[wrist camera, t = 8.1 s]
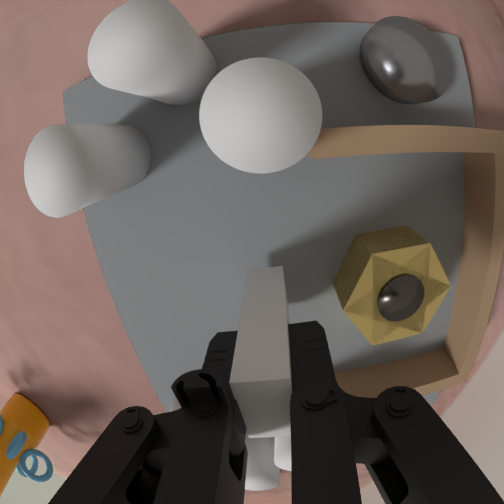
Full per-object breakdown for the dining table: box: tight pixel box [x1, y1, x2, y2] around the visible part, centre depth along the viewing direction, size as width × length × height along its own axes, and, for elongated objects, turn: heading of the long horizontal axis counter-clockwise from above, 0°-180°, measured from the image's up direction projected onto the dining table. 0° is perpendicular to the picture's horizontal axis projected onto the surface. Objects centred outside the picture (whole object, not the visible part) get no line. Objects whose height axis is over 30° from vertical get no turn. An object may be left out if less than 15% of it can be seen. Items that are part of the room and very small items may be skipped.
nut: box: [333, 225, 451, 345], centre depth 12 cm, size 4×5×2 cm
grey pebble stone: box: [359, 16, 450, 105], centre depth 9 cm, size 4×4×1 cm
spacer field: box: [24, 0, 504, 491], centre depth 12 cm, size 24×20×6 cm
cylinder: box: [0, 393, 53, 496], centre depth 17 cm, size 12×10×15 cm
